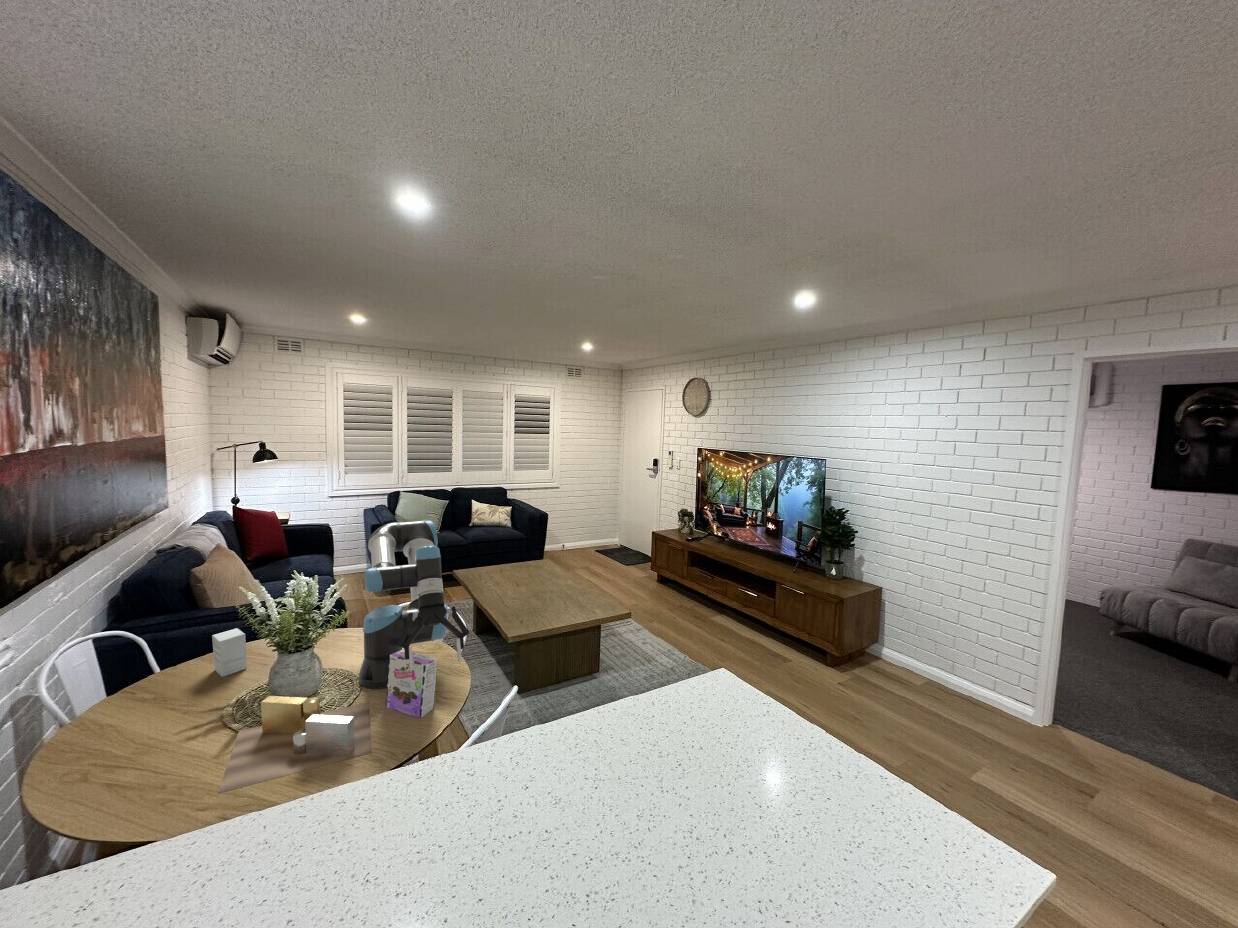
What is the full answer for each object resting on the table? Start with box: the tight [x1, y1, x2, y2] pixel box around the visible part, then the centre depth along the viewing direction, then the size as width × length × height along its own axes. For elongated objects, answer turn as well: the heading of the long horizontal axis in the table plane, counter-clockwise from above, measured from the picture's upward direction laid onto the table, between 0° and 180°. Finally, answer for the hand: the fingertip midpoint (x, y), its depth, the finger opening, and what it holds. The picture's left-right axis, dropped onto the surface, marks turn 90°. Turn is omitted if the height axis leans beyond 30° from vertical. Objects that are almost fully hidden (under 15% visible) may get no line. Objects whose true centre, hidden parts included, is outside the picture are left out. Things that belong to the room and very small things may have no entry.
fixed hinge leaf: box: [293, 714, 355, 756], centre depth 131 cm, size 4×15×9 cm, turn 88°
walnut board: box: [217, 701, 373, 794], centre depth 134 cm, size 25×32×1 cm
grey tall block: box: [211, 627, 248, 678], centre depth 170 cm, size 7×7×13 cm
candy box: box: [385, 648, 439, 719], centre depth 151 cm, size 14×6×16 cm, turn 68°
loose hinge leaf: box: [260, 695, 321, 735], centre depth 138 cm, size 4×15×9 cm, turn 88°
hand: (436, 665), depth 148 cm, fingers open, 13 cm apart
